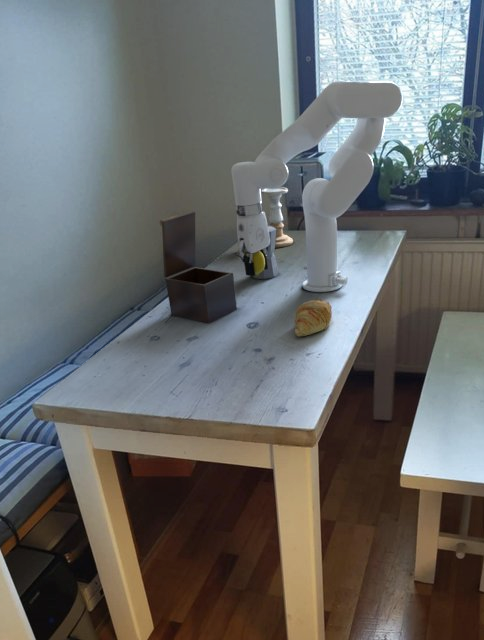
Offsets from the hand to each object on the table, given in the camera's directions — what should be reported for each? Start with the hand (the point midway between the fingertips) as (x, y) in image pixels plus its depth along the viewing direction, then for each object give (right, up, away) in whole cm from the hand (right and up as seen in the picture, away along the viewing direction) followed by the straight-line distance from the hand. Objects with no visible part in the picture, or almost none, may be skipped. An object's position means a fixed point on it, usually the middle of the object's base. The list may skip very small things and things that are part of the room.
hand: (256, 271), depth 183 cm
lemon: (0, -1, +1) cm, 1 cm away
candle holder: (+7, +28, +58) cm, 65 cm away
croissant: (+16, -21, -19) cm, 32 cm away
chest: (-16, -13, -4) cm, 21 cm away
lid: (-21, +4, -11) cm, 25 cm away
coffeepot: (+2, +6, +24) cm, 25 cm away
